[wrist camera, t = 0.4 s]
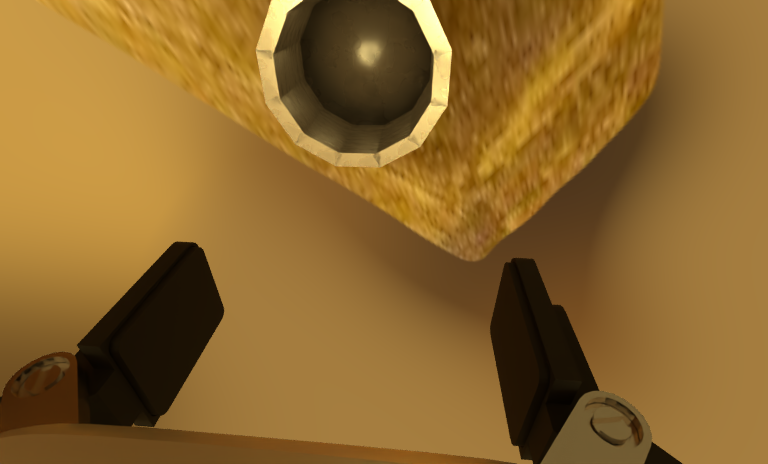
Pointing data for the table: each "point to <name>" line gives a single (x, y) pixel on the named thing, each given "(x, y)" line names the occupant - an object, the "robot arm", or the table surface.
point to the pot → (355, 76)
